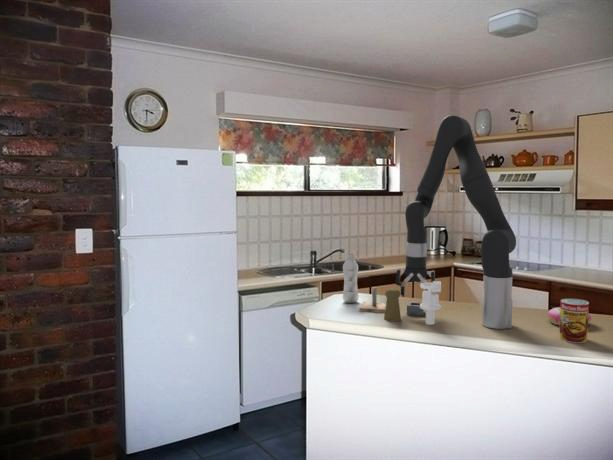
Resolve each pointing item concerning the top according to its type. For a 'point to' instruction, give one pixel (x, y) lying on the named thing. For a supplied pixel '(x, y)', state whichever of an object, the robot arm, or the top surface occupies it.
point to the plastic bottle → (350, 279)
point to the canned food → (574, 320)
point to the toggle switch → (373, 304)
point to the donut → (555, 316)
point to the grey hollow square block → (414, 309)
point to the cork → (392, 305)
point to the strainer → (430, 300)
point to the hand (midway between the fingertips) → (414, 297)
